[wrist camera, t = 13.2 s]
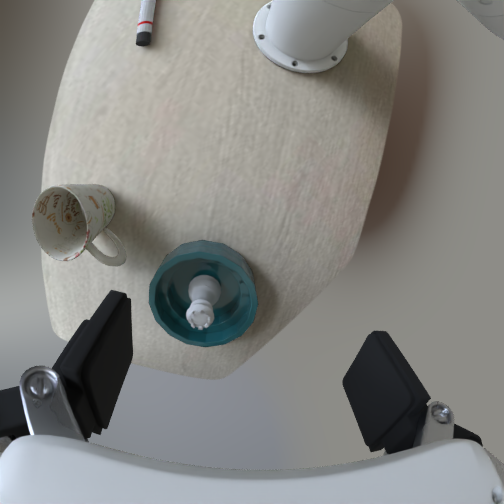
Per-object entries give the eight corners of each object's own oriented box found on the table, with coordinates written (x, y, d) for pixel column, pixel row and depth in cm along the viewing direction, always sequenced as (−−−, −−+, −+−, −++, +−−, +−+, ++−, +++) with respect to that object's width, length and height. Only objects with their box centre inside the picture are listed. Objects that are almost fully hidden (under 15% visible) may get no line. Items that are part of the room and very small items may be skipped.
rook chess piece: (223, 276, 36) (222, 307, 29) (218, 304, 38) (216, 339, 30) (190, 270, 36) (181, 300, 28) (187, 299, 37) (178, 332, 30)
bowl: (162, 230, 34) (152, 242, 30) (264, 249, 36) (268, 264, 32) (155, 316, 39) (147, 336, 34) (243, 331, 41) (244, 353, 36)
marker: (152, 44, 25) (148, 39, 24) (138, 47, 25) (133, 42, 23) (162, -30, 20) (160, -36, 18) (150, -27, 20) (147, -33, 18)
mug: (94, 163, 30) (52, 169, 21) (157, 225, 34) (131, 252, 25) (64, 207, 32) (23, 226, 22) (122, 266, 36) (92, 301, 26)
